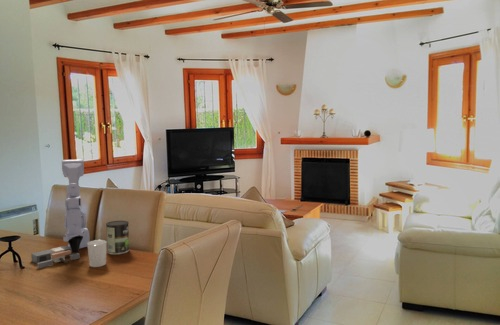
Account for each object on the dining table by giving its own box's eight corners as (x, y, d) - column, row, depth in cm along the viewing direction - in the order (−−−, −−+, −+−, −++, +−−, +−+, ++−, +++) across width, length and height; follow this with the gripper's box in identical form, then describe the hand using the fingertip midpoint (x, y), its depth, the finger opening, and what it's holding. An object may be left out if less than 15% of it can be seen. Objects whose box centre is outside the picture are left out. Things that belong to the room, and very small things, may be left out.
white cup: (110, 261, 178) (109, 240, 177) (102, 268, 171) (101, 245, 170) (93, 261, 179) (92, 239, 178) (84, 267, 171) (83, 244, 170)
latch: (69, 253, 181) (69, 250, 181) (70, 253, 180) (70, 250, 180) (51, 257, 175) (51, 254, 175) (52, 258, 174) (52, 255, 174)
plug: (61, 257, 183) (60, 246, 183) (72, 263, 176) (71, 251, 176) (50, 260, 180) (50, 249, 179) (61, 265, 173) (61, 254, 172)
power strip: (67, 252, 192) (66, 245, 191) (79, 258, 183) (79, 250, 183) (26, 262, 178) (26, 254, 178) (38, 268, 170) (38, 260, 169)
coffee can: (132, 248, 198) (131, 220, 197) (125, 254, 188) (124, 225, 187) (111, 248, 199) (110, 220, 197) (103, 254, 188) (102, 225, 187)
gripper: (75, 219, 188) (76, 247, 190) (56, 226, 174) (57, 257, 175) (89, 219, 187) (90, 248, 189) (71, 227, 173) (72, 258, 174)
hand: (75, 252), depth 182 cm, fingers closed
